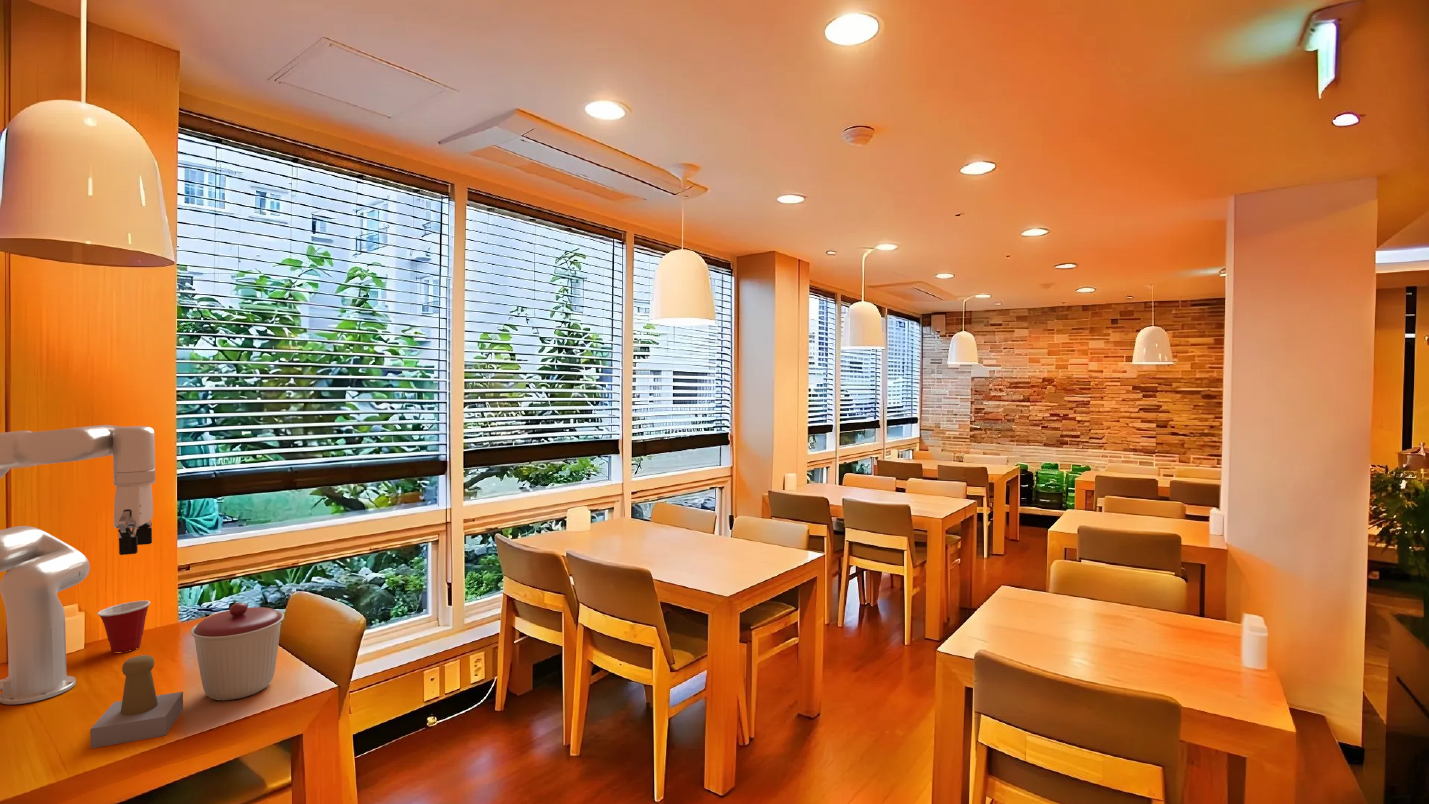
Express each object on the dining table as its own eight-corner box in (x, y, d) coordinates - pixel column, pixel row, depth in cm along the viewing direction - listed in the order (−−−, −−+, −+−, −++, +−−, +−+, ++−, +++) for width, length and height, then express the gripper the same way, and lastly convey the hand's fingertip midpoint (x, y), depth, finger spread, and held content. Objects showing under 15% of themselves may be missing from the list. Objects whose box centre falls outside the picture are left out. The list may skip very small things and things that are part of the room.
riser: (90, 748, 133) (90, 728, 133) (114, 720, 144) (114, 702, 144) (165, 735, 138) (165, 716, 138) (183, 708, 149) (183, 691, 149)
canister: (211, 717, 146) (210, 622, 145) (178, 695, 155) (176, 606, 154) (299, 685, 161) (298, 599, 160) (263, 667, 171) (262, 586, 170)
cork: (165, 702, 144) (164, 652, 143) (138, 716, 138) (137, 664, 137) (140, 700, 145) (139, 650, 144) (112, 714, 139) (111, 662, 138)
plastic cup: (119, 642, 185) (118, 599, 185) (161, 640, 186) (160, 598, 186) (86, 658, 175) (85, 613, 174) (131, 657, 176) (130, 612, 175)
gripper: (128, 473, 164) (129, 542, 165) (99, 484, 148) (100, 560, 149) (166, 472, 167) (167, 539, 168) (141, 482, 152) (143, 556, 152)
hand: (136, 549), depth 159 cm, fingers open, 9 cm apart
